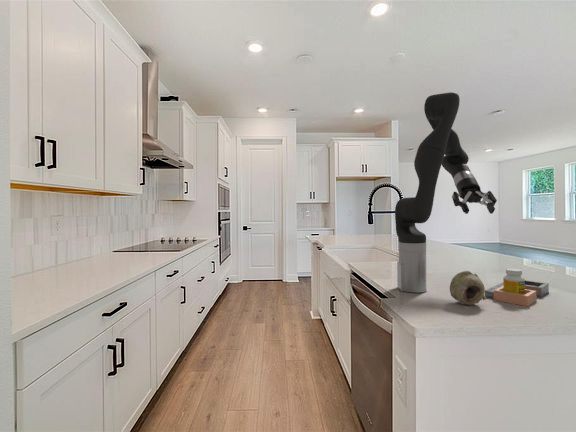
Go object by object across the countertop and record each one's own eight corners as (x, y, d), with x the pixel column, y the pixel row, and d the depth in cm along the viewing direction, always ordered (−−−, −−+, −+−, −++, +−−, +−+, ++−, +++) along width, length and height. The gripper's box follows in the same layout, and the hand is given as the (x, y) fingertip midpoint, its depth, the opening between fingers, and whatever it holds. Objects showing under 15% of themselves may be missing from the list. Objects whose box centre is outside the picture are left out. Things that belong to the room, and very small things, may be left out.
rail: (529, 305, 87) (529, 295, 87) (484, 296, 96) (484, 287, 96) (548, 292, 100) (548, 283, 100) (507, 285, 109) (507, 277, 109)
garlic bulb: (443, 301, 92) (443, 269, 92) (462, 297, 96) (462, 267, 95) (473, 310, 84) (472, 275, 83) (492, 306, 87) (492, 272, 87)
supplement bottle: (507, 296, 96) (507, 267, 96) (527, 300, 92) (527, 269, 92) (500, 299, 93) (500, 269, 93) (521, 303, 89) (520, 272, 89)
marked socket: (527, 306, 86) (527, 296, 86) (493, 299, 93) (493, 290, 93) (536, 300, 91) (536, 291, 91) (503, 294, 98) (503, 285, 98)
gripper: (450, 177, 119) (462, 205, 108) (488, 176, 117) (505, 204, 106) (445, 191, 125) (456, 219, 113) (481, 190, 122) (496, 218, 111)
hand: (479, 212), depth 110 cm, fingers open, 8 cm apart
